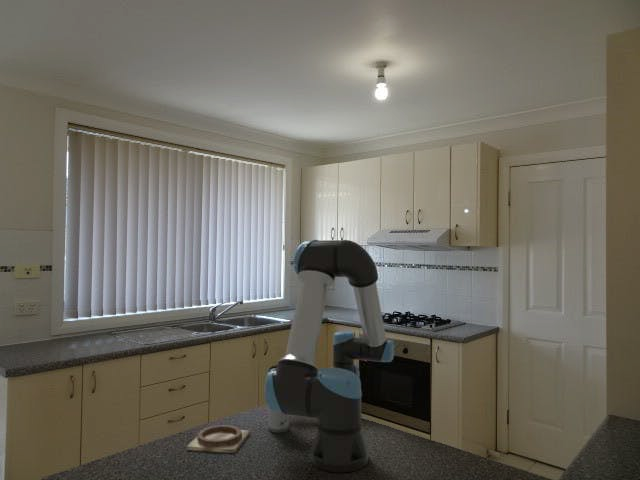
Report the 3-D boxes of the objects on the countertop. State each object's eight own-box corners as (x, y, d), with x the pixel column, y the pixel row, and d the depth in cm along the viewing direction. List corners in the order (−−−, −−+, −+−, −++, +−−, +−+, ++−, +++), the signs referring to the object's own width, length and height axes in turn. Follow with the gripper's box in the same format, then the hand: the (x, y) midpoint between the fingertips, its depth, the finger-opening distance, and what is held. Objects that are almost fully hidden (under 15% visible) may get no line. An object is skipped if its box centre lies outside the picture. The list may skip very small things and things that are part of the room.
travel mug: (287, 433, 144) (287, 367, 144) (266, 432, 145) (266, 366, 145) (291, 426, 150) (291, 363, 150) (271, 425, 151) (271, 362, 152)
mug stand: (249, 433, 144) (249, 425, 144) (234, 453, 130) (234, 443, 130) (206, 431, 146) (206, 423, 146) (186, 449, 132) (186, 440, 132)
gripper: (352, 399, 155) (306, 415, 139) (300, 384, 172) (254, 397, 156) (352, 376, 155) (306, 389, 139) (300, 363, 172) (254, 374, 157)
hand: (278, 393), depth 148 cm, fingers open, 13 cm apart
